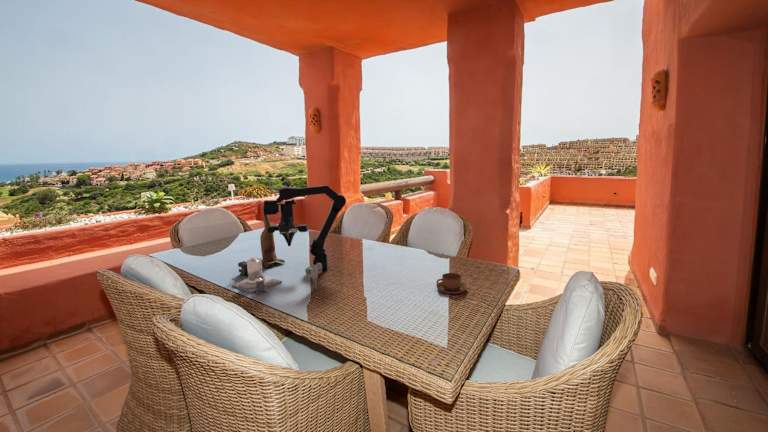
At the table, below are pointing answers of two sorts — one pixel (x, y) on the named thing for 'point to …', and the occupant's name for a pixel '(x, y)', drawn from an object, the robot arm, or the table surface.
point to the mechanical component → (314, 273)
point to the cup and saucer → (451, 284)
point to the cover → (254, 270)
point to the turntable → (251, 287)
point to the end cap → (244, 269)
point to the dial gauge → (260, 286)
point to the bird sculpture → (268, 244)
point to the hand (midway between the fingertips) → (289, 246)
